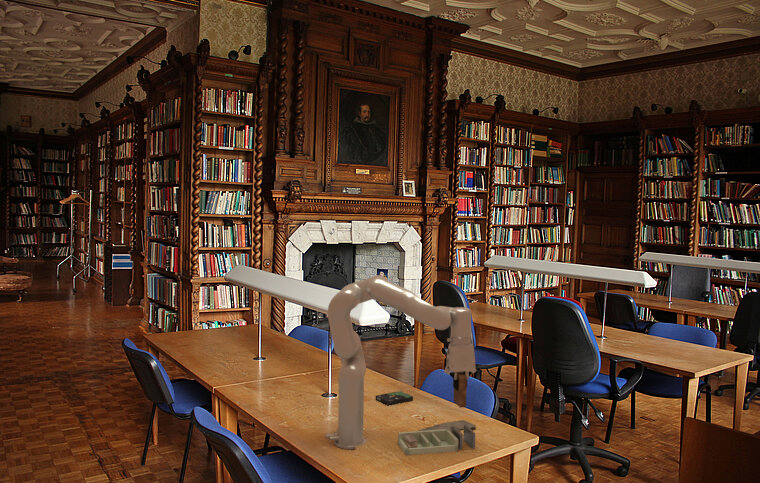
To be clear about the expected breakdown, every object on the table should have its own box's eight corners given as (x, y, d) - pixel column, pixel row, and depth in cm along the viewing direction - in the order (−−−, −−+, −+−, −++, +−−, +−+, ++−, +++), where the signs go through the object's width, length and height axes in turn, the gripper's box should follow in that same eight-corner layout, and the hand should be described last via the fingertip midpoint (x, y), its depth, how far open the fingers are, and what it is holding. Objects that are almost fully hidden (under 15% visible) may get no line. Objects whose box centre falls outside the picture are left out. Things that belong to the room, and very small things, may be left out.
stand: (459, 452, 222) (460, 434, 222) (451, 443, 231) (451, 425, 230) (474, 451, 223) (475, 433, 223) (465, 442, 232) (466, 424, 232)
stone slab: (404, 430, 238) (462, 415, 255) (404, 438, 239) (462, 422, 255) (420, 439, 230) (478, 423, 246) (420, 447, 230) (478, 430, 246)
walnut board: (460, 407, 222) (460, 375, 221) (453, 401, 229) (453, 370, 228) (466, 407, 223) (466, 375, 222) (459, 401, 229) (459, 370, 229)
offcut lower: (409, 452, 218) (409, 446, 218) (403, 445, 225) (404, 439, 225) (417, 451, 219) (417, 446, 219) (412, 444, 226) (412, 438, 226)
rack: (405, 458, 216) (406, 443, 216) (397, 446, 227) (398, 432, 226) (458, 454, 221) (458, 439, 221) (447, 442, 232) (448, 429, 231)
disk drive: (387, 407, 273) (413, 401, 282) (387, 401, 273) (413, 395, 281) (375, 401, 282) (400, 395, 290) (375, 395, 282) (400, 390, 290)
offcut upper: (410, 446, 219) (410, 441, 219) (404, 440, 224) (404, 435, 224) (417, 445, 220) (417, 440, 220) (411, 439, 225) (411, 434, 225)
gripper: (443, 343, 219) (443, 393, 220) (484, 341, 223) (484, 390, 224) (437, 339, 226) (436, 387, 227) (476, 337, 230) (476, 385, 231)
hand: (460, 388), depth 225 cm, fingers closed on walnut board, 2 cm apart
